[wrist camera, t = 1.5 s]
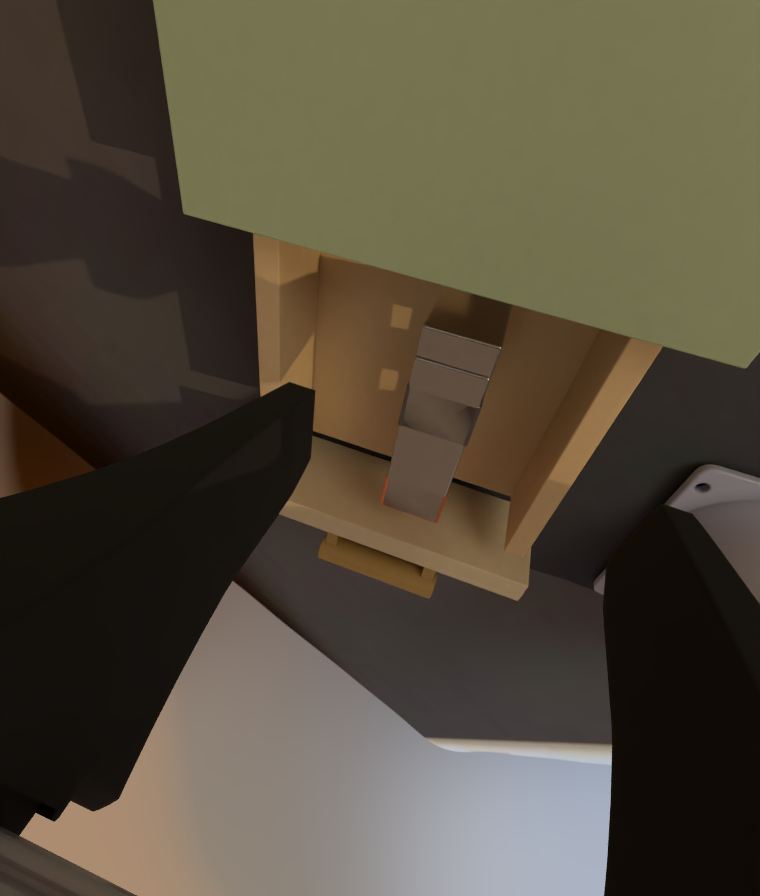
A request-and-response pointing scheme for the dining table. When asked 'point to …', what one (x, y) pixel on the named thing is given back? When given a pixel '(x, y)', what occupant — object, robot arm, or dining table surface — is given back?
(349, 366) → the drawer
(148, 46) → the dining table surface
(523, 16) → the cabinet
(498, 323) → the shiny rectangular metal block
